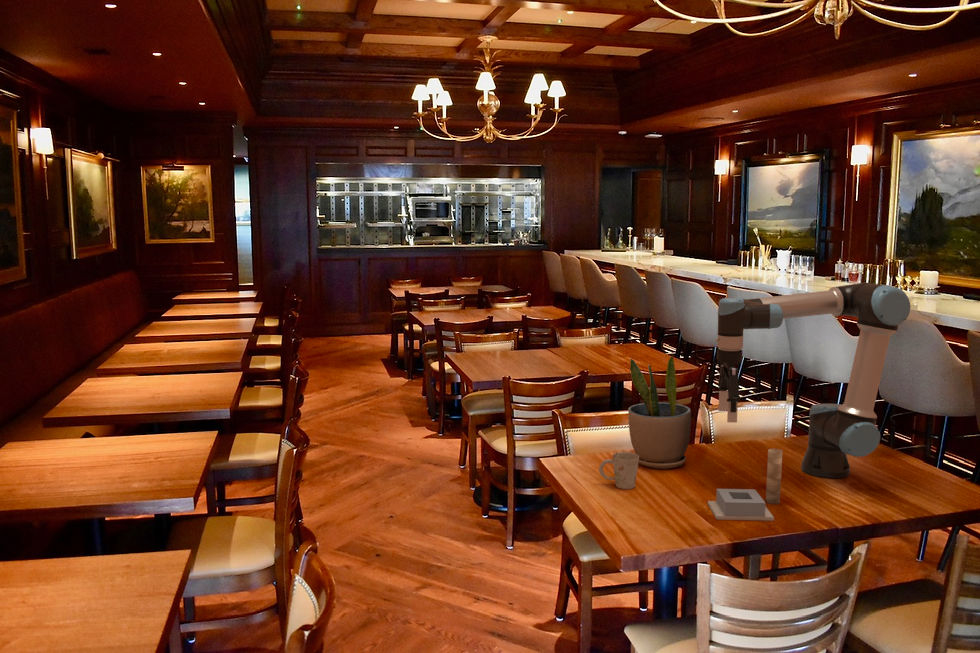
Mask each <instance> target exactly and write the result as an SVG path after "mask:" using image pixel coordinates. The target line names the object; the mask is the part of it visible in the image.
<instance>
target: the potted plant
mask: <svg viewBox="0 0 980 653" xmlns="http://www.w3.org/2000/svg"><path fill="white" fill-rule="evenodd" d="M629 360H630V361H629V363H630V366H629V367H630V376H631V381H632V384H633V386H634V387H635V389H636V390H637V392H638V393H639V395H640V397H641V399H642V401H643V402H644V403H637V404H634V405H631V406H629V407H628V408H627V411H628V431H629V438H630V442H631V445H632V448H633V451H634V452H635V454H637V455H638V456H639V463H638V465H641V466H643V467H647V468H651V469H660V470H661V469H662V470H663V469H664V470H666V469H676V468H679V467H682V465H684V464H685V463H686V462H687V456H686V455H685V454H686V451H687V449H688V447H689V443H690V436H691V424H692V422H691V420H692V419H691V418H692V416H691V415H692V414H691V413H692V411H691V408H690V407H688V406H686V405H682V404H678V403H677V377H676V368H675V362H674V360H675V359H674V354H672V355H671V356H670V358H669V359H668V362H667V366H666V373H665V383H664V384H665V385H664V386H665V387H664V388H665V391H666V395H667V399H668V402H661V401H660V402H659V395H658V389H657V385H656V382H655V378H654V375H653V371H652V366H651V365H650V363H649V364H648V374H649V380H650V384H649V385H648V383H647V380H646V378H645V376H644V374H643V372H642V371H641V369H640V367H639V365H638V363H636V361H635V360H634V359H632V358H630V359H629Z"/></svg>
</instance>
